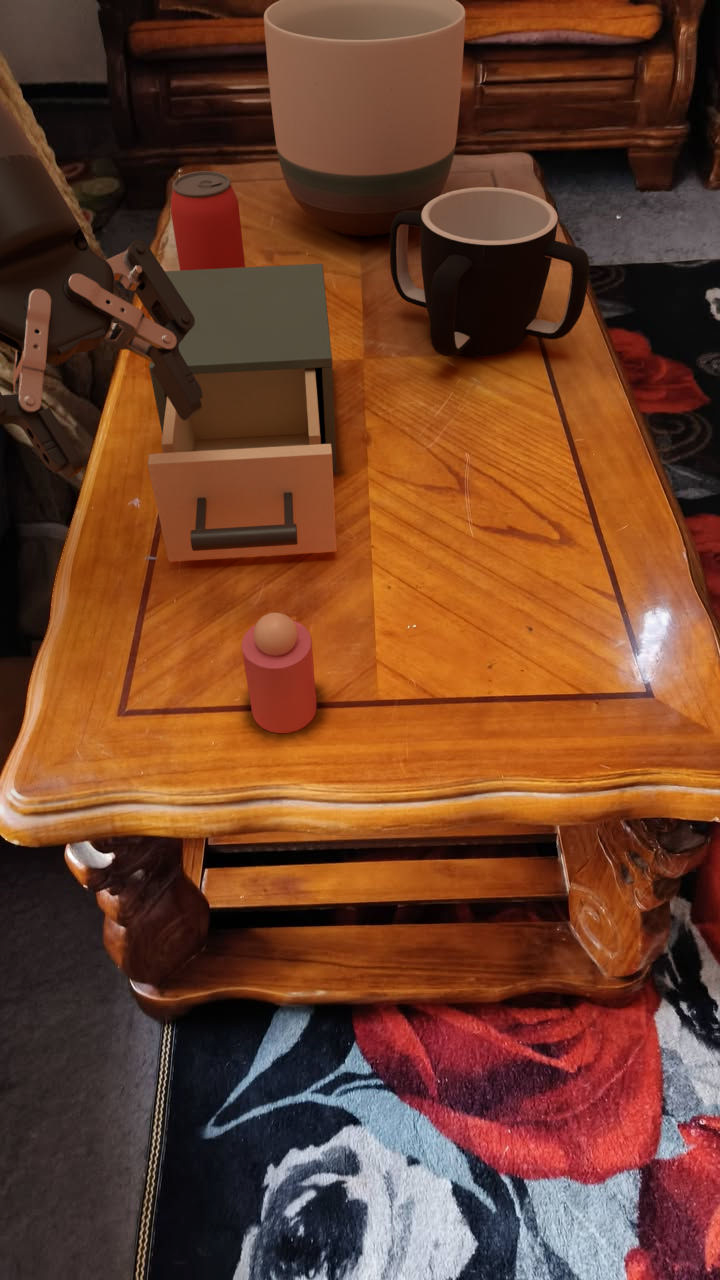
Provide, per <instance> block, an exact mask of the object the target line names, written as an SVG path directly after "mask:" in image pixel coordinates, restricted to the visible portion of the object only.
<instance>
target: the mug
mask: <svg viewBox="0 0 720 1280" xmlns="http://www.w3.org/2000/svg"><path fill="white" fill-rule="evenodd" d="M558 224H559V216H558V213H557V211H556V209H555V208H554V206H552V205H551V204H550V203H548V201H546V200H544V199H542V198H541V197H539V196H537V195H534V194H531V193H528V192H525V191H521V190H517V189H514V188H513V189H512V188H504V187H493V186H482V187H481V186H480V187H479V186H478V187H469V188H462V189H456V190H452V191H448V192H446V193H443V194H440V195H439V196H438V197H436V198H434V199H433V200H431V201H430V202H429V203H427V204H426V206H425V207H424V208H423V210H422V212H421V211H411V210H405V211H402V212H400V213H398V214H397V215H396V217H395V218H394V220H393V222H392V225H391V228H390V233H389V264H390V265H389V266H390V275H391V279H392V282H393V284H394V287H395V289H396V292H397V293H398V295H399V296H400V297H401V299H403V300H404V301H405V302H406V303H409V304H412V305H414V306H417V307H421V308H424V309H426V311H427V316H428V322H429V332H430V333H429V334H430V341H431V345H432V348H433V349H434V350H435V352H436V353H437V354H439V355H441V356H444V357H454V356H455V357H456V356H457V355H459V354H461V355H464V356H470V357H484V358H485V357H486V358H487V357H495V356H500V355H504V354H507V353H509V352H512V351H514V350H515V349H517V348H520V347H521V345H523V344H524V342H525V341H526V340H527V338H528V336H530V337H535V338H539V339H546V340H558V339H561V338H563V337H565V336H567V335H568V334H569V333H570V332H571V331H572V330H573V328H575V325H576V324H577V322H578V321H579V319H580V317H581V316H582V315H581V314H582V312H583V309H584V306H585V301H586V295H587V291H588V285H589V278H590V269H591V264H590V259H589V256H588V253H587V252H586V251H585V250H584V249H583V248H581V247H578V246H575V245H573V244H569V243H566V242H563V241H559V240H556V239H557V230H558ZM409 226H410V227H414V228H419V229H420V239H419V240H420V241H419V242H420V263H421V266H420V267H421V275H422V283H423V288H420V287H418V286H417V285H415V283H414V281H413V278H412V277H411V273H410V270H409V269H410V268H409V260H408V259H409V258H408V239H409V238H408V237H409ZM553 259H554V260H559V261H561V262H566V263H567V264H569V265H570V280H569V287H568V294H567V299H566V305H565V309H564V313H563V315H562V317H561V318H560V319H559V321H557V322H556V321H555V322H553V321H549V320H544V319H539V318H536V317H537V314H538V311H539V309H540V307H541V302H542V299H543V295H544V292H545V287H546V284H547V281H548V277H549V273H550V269H551V265H552V260H553Z"/></svg>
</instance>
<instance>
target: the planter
mask: <svg viewBox="0 0 720 1280" xmlns="http://www.w3.org/2000/svg"><path fill="white" fill-rule="evenodd" d="M263 26H264V27H263V28H264V39H265V50H266V61H267V62H266V64H267V75H268V86H269V95H270V96H269V97H270V104H271V113H272V115H271V116H272V123H273V130H274V139H275V147H276V152H277V157H278V162H279V167H280V170H281V173H282V175H283V180H284V181H285V184H286V186H287V189H288V191H289V193H290V195H291V196H292V198H293V199H294V201H295V202H296V203H297V204H298V205H299V207H300V208H301V209H302V210H303V211H304V212H305V213H306V214H307V215H309V217H311V218H312V219H313V220H314V221H316V222H318V223H319V224H321V225H322V226H324V227H325V228H328V229H329V230H332V231H335V232H337V233H341V234H345V235H348V236H349V235H350V236H358V237H374V236H382V235H386V234H390V228H391V225H392V222H393V220H394V218H395V217H396V215H397V214H398V213H400V212H402V211H405V210H411V211H421V212H422V210H423V208H424V207H425V206H426V204H427V203H429V202H430V201H431V200H433V199H434V198H436V197H438V196H440V195H442V193H443V190H444V188H445V186H446V184H447V181H448V178H449V176H450V172H451V169H452V165H453V161H454V158H455V152H456V151H455V150H456V145H457V135H458V127H459V126H458V125H459V116H460V105H461V92H462V91H461V90H462V77H463V65H464V64H463V63H464V47H465V30H466V9H465V8H464V5H462V4H461V3H460V1H458V0H278V1H275V2H274V3H272V4H270V5H269V6H268V7H267V8H266V10H265V11H264V14H263Z"/></svg>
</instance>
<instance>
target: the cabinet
mask: <svg viewBox="0 0 720 1280" xmlns="http://www.w3.org/2000/svg"><path fill="white" fill-rule="evenodd" d="M164 271H165V273H166V274H167V276H168V277H169V279H170V280H171V282H172V284H173V285H174V287H175V288H176V290H177V291H178V293H179V294H180V296H181V297H182V299H183V301H184V302H185V304H186V305H187V307H188V308H189V310H190V311H191V313H192V314H193V316H194V318H195V324H194V326H193V327H192V328H191V330H189V332H188V333H187V334H186V335H185V337H184V338H183V340H182V341H181V342H180V343H179V351H180V354H181V355H182V357H183V359H184V360H185V362H186V364H187V365H188V367H189V369H190V370H191V372H192V374H207V373H226V372H245V371H263V370H282V369H301V368H315V374H316V387H317V400H318V413H319V426H320V441H321V444H331V448H332V464H333V474H337V473H338V469H337V465H338V464H337V445H336V443H337V442H336V421H335V420H336V419H335V417H336V416H335V397H334V394H335V393H334V373H333V370H334V369H333V355H332V346H331V344H332V343H331V333H330V324H329V314H328V303H327V295H326V285H325V276H324V275H325V273H324V265H323V263H306V264H287V265H285V264H284V265H263V266H247V267H246V266H245V267H243V268H222V269H202V270H182V271H180V270H167V271H166V270H164ZM154 365H155V364H154V363H152V362H150V361H149V366H148V370H149V375H150V379H151V384H152V388H153V394H154V395H153V396H154V399H155V400H154V401H155V405H156V410H157V415H158V418H159V419H158V420H159V424H160V430H161V435H162V434H163V426H164V418H165V410H166V401H167V395H166V393H165V392H164V390H163V388H162V387H161V385H160V383H159V382H158V380H157V378H156V377H155V375H154V373H153V372H152V370H151V369H152V368H153V367H154Z"/></svg>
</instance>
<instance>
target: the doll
mask: <svg viewBox="0 0 720 1280" xmlns="http://www.w3.org/2000/svg"><path fill="white" fill-rule="evenodd" d="M241 652H242V658H243V663H244V671H245V677H246V685H247V689H248V690H247V691H248V697H249V702H250V708H251V709H250V710H251V715H252V718H253V720H254V721H255V723H257V725H258V726H259V727H260V728H262V729H264V730H265V731H268V732H271V733H274V734H289V733H295V732H298V731H300V730H302V729H303V728H305V727H306V726H307V725H308V724H310V722H312V721H313V719H314V717H315V715H316V713H317V709H318V707H317V693H316V680H315V666H314V654H313V652H314V651H313V642H312V636H311V634H310V631H309V630H308V628H307V627H306V626H305V625H304V624H302V623H301V622H299V621H296V620H294V619H292V618H291V617H290V616H288V615H287V614H285V613H282V612H276V611H275V612H268V613H266V614H264V615H263V616H261V617H260V618H259V619H258V620H257V622H256V623H255V624H254V625H252V626H251V627H250V628H249V629H248V630H247V631H246V632H245V633H244V636H243V638H242V641H241Z"/></svg>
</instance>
